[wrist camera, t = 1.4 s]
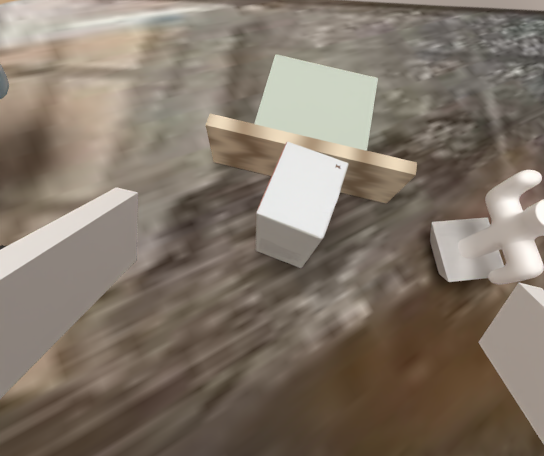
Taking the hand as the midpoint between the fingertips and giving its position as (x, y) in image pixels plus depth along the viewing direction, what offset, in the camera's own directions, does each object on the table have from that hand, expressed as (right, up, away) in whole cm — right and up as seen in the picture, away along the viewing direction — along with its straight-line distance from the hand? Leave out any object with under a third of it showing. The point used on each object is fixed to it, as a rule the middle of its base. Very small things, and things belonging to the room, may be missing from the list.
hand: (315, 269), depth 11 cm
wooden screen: (+2, +8, +32) cm, 33 cm away
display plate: (+5, +18, +35) cm, 40 cm away
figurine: (+21, -2, +30) cm, 37 cm away
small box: (+1, +1, +29) cm, 29 cm away
